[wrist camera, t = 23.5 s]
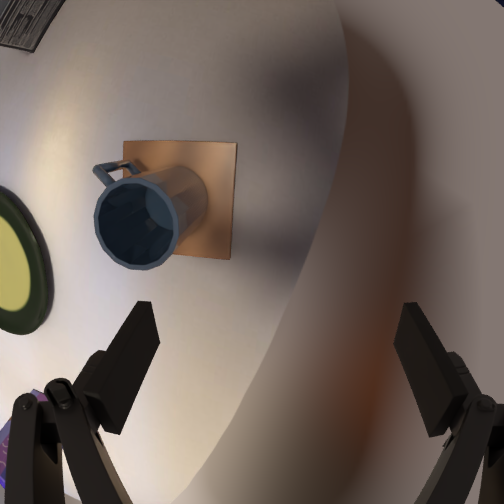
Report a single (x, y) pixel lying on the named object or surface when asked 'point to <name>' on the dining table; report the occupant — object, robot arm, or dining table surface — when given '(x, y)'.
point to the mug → (147, 212)
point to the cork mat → (214, 178)
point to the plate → (20, 273)
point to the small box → (25, 22)
